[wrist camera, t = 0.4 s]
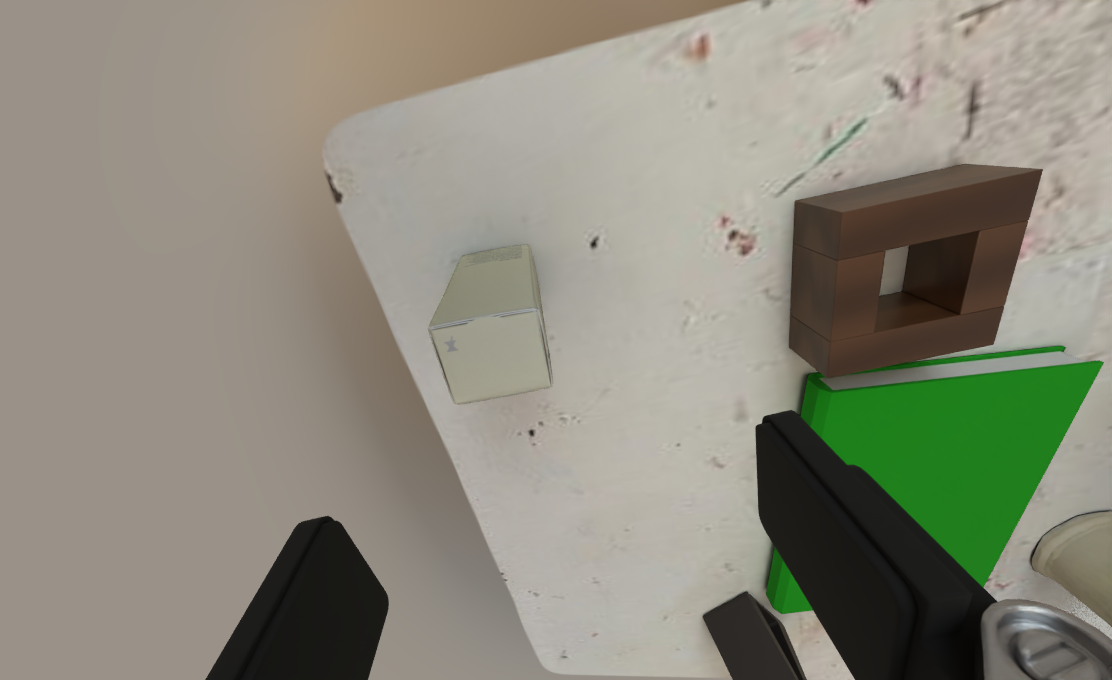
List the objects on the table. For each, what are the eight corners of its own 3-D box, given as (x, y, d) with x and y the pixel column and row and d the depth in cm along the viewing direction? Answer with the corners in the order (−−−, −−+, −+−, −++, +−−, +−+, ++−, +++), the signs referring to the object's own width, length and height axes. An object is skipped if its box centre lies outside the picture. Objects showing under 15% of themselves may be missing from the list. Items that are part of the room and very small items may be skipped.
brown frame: (794, 200, 30) (842, 212, 25) (965, 163, 30) (1043, 168, 25) (788, 347, 35) (827, 379, 31) (933, 317, 35) (994, 344, 30)
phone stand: (782, 624, 52) (850, 752, 41) (740, 645, 53) (794, 775, 42) (746, 590, 49) (808, 721, 38) (701, 614, 50) (750, 747, 39)
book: (1061, 345, 37) (1103, 362, 34) (956, 564, 49) (981, 590, 46) (802, 374, 36) (824, 393, 34) (762, 587, 49) (776, 614, 46)
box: (475, 310, 32) (446, 410, 20) (460, 253, 30) (418, 327, 18) (545, 298, 32) (556, 391, 20) (534, 240, 30) (539, 306, 18)
